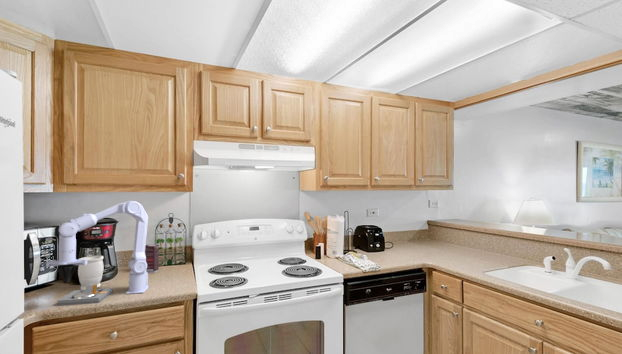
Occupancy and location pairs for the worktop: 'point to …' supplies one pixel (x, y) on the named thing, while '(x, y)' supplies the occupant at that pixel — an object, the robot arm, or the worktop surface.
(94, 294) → the dial
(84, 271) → the jar
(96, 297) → the dial board
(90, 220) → the robot arm
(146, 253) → the supplement box
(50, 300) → the worktop surface
